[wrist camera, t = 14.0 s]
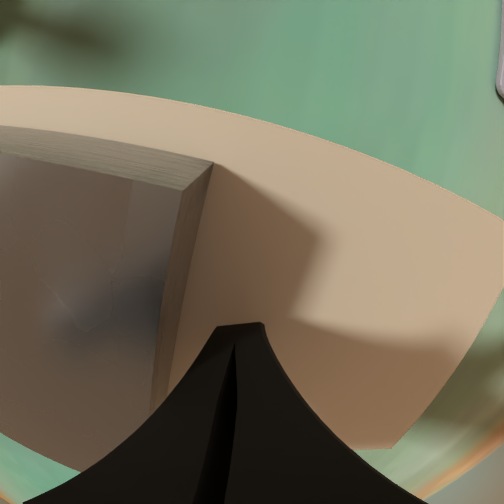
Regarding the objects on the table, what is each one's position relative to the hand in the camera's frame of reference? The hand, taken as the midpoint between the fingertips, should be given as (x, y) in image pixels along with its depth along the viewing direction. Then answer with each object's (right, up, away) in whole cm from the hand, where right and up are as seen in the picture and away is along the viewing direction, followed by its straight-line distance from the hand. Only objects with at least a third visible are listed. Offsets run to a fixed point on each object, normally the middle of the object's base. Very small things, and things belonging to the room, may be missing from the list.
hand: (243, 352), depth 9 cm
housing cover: (-6, +2, 0) cm, 7 cm away
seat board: (-1, +1, +3) cm, 3 cm away
